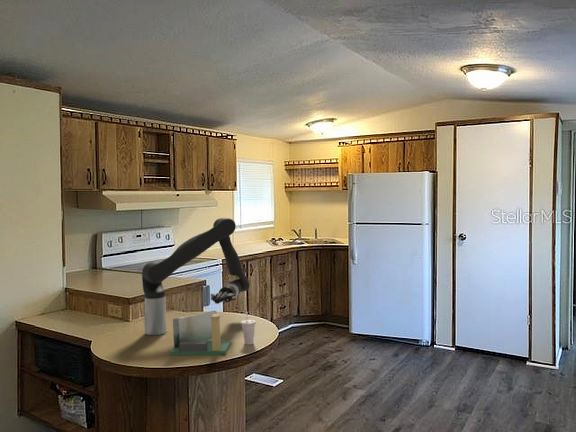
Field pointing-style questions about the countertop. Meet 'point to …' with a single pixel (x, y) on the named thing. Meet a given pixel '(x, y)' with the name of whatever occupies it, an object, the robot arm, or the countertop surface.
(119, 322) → the countertop surface
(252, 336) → the smoothie
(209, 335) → the white upright panel
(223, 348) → the bracket
